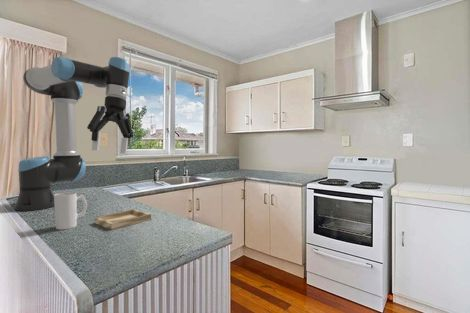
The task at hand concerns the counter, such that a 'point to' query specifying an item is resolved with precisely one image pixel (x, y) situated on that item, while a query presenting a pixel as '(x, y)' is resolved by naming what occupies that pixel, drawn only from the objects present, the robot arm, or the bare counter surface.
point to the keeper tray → (122, 219)
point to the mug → (67, 209)
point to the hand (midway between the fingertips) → (110, 152)
